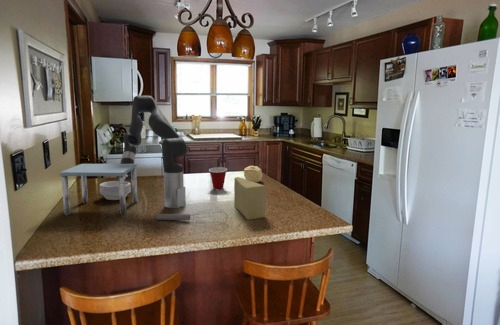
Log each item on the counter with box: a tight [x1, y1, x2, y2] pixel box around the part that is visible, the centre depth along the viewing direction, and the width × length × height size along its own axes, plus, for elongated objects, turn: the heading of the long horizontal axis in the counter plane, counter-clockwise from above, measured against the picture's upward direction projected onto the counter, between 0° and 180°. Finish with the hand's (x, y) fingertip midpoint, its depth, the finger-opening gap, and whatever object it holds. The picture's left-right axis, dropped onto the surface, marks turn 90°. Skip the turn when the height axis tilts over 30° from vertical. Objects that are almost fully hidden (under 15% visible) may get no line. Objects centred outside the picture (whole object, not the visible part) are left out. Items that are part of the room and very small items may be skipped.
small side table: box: [59, 163, 138, 216], centre depth 162 cm, size 22×27×20 cm
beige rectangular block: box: [233, 176, 267, 221], centre depth 159 cm, size 22×10×15 cm, turn 27°
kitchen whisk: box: [152, 209, 229, 226], centre depth 145 cm, size 6×34×6 cm, turn 80°
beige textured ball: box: [243, 165, 263, 183], centre depth 222 cm, size 11×12×11 cm
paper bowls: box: [99, 180, 132, 201], centre depth 180 cm, size 15×15×8 cm
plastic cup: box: [208, 166, 228, 190], centre depth 203 cm, size 11×11×12 cm
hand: (122, 185), depth 191 cm, fingers closed
